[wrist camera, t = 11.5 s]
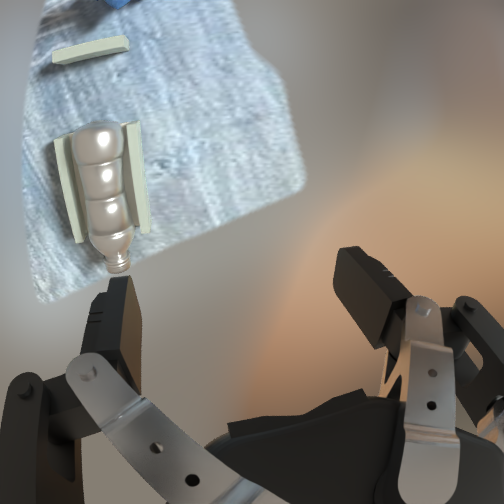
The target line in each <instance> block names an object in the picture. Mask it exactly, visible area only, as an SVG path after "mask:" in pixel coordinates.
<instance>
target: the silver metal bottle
mask: <svg viewBox="0 0 504 504" xmlns="http://www.w3.org/2000/svg"><path fill="white" fill-rule="evenodd" d="M124 140H125V137H124V133H123V129H122V126H121V125H120V124H119V122H116V121H107V120H97V121H92V122H90V123H88V124H86V125H84V126H82V127H80V128H78V129H76V130H75V132H74V134H73V136H72V150H73V154H74V157H75V160H76V163H77V165H78V169H79V173H80V177H81V181H82V185H83V189H84V196H85V204H86V210H87V223H88V234H89V239H90V241H91V243H92V245H93V246H94V247H95V248H96V249H97V250H98V251H99V252H100V253H102V254H103V255H104V258H103V259H104V263H105V265H106V269H107V271H108V272H109V273H112V274H118V273H122V272H124V271H126V270H127V269H129V268H130V266H131V261H130V252H129V250H128V248H129V246H130V244H131V242H132V240H133V238H134V234H135V225H134V221H133V218H132V215H131V211H130V208H129V205H128V201H127V196H126V191H125V185H124V175H123V154H124Z"/></svg>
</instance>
